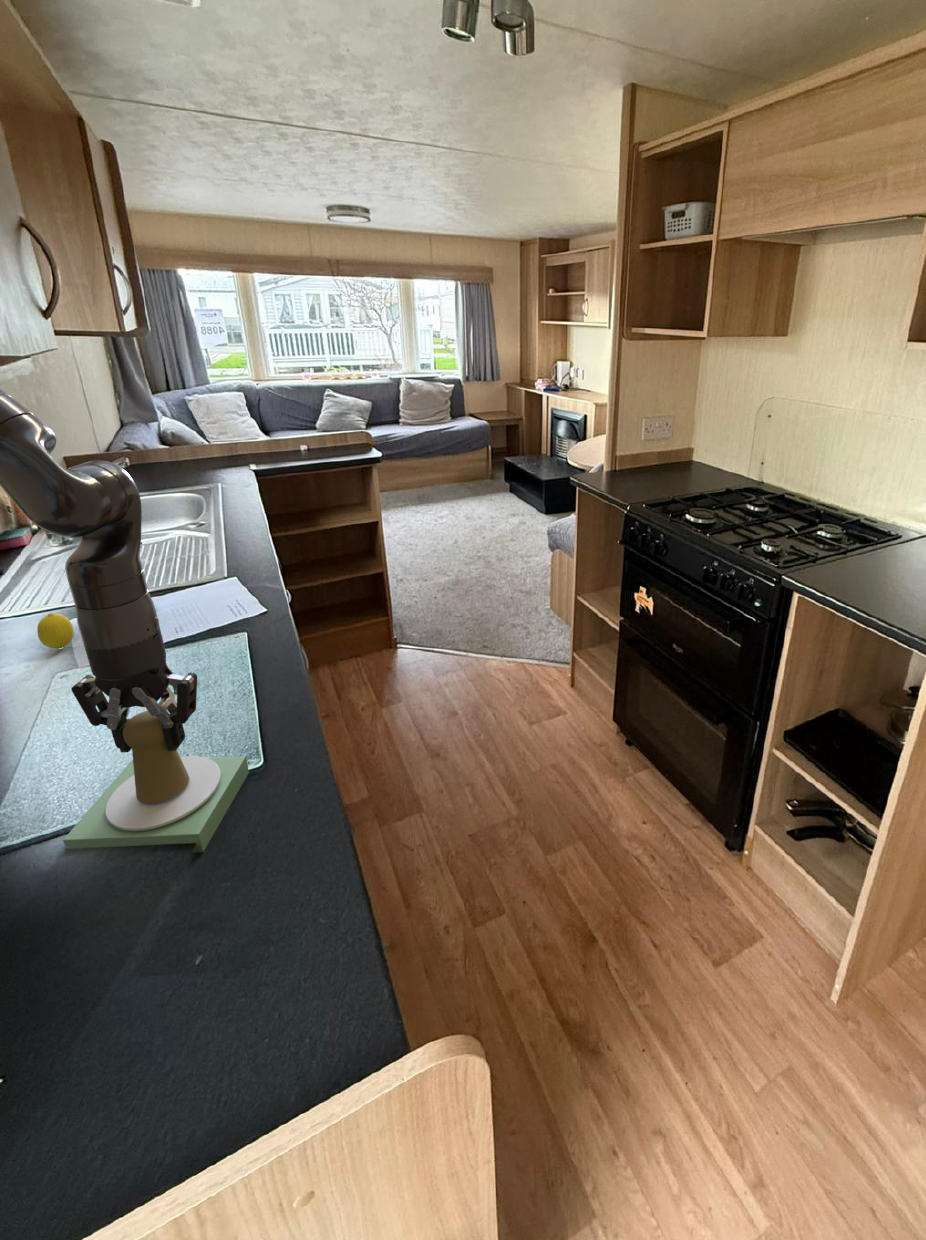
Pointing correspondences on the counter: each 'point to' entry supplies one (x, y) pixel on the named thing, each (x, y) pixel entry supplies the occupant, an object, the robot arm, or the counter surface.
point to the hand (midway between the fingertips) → (152, 747)
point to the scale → (163, 808)
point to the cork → (153, 760)
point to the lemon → (55, 630)
